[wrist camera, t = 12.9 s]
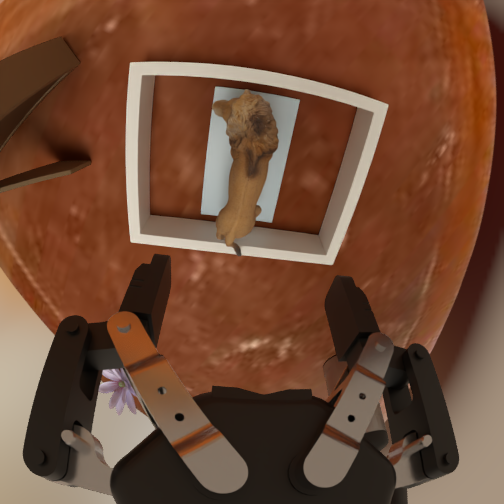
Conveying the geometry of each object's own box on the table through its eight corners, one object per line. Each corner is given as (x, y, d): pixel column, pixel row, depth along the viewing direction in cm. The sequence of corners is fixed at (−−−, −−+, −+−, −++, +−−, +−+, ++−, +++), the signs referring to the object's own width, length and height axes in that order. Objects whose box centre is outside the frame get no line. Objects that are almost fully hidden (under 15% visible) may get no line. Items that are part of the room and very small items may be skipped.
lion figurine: (220, 110, 25) (208, 82, 17) (274, 112, 26) (286, 85, 17) (215, 253, 29) (202, 286, 21) (267, 255, 29) (275, 289, 21)
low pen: (370, 98, 23) (388, 104, 20) (324, 244, 34) (332, 265, 31) (145, 62, 21) (130, 62, 18) (140, 222, 32) (130, 242, 28)
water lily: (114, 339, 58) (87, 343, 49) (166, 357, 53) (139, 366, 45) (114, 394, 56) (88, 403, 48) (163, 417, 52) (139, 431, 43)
